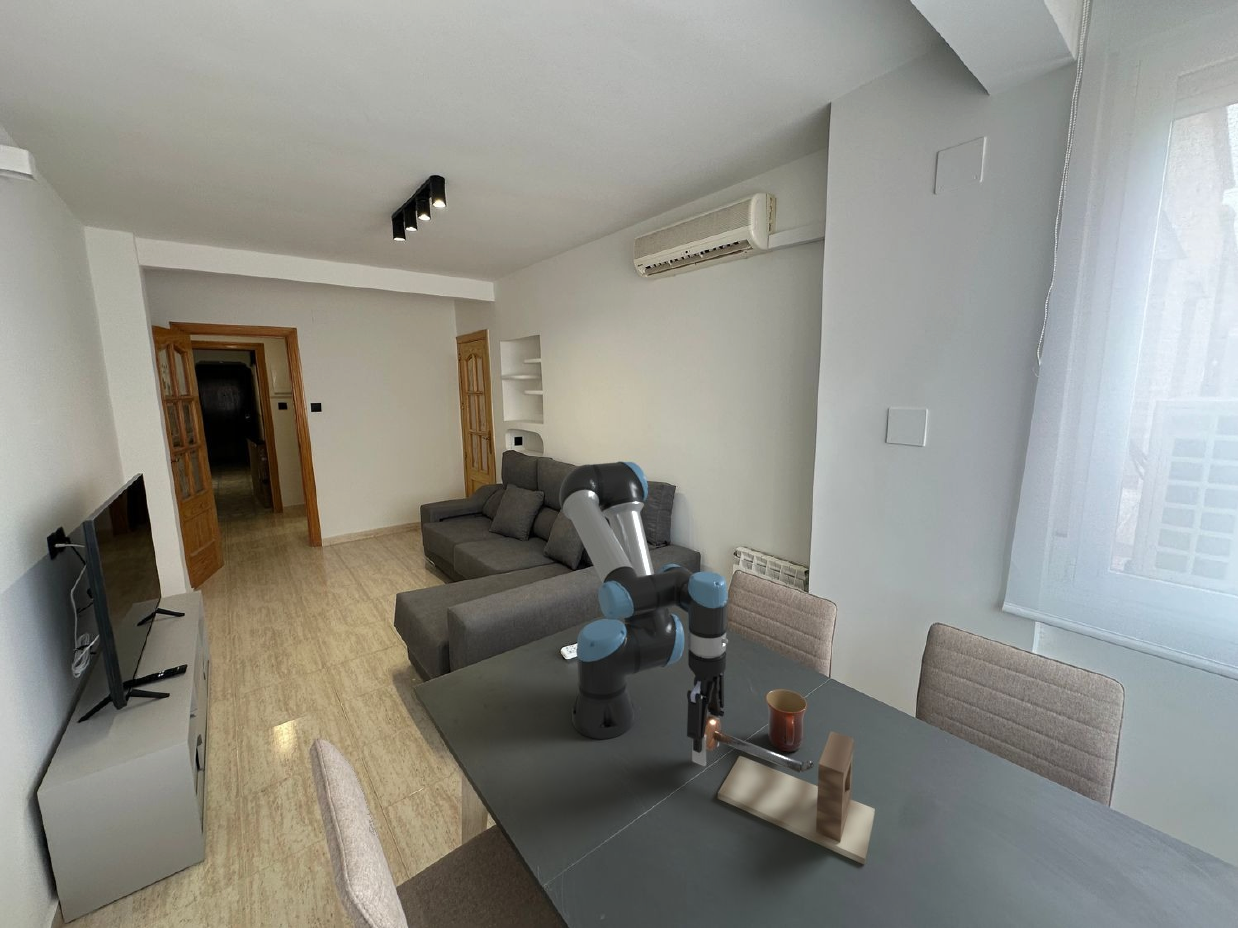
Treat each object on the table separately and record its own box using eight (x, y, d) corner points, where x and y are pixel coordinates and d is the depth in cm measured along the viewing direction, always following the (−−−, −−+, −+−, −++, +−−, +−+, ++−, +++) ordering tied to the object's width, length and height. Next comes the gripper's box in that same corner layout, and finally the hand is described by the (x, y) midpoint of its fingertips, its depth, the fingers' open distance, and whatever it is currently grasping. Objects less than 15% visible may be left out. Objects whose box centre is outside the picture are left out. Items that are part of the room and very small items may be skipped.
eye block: (815, 831, 89) (818, 763, 87) (828, 794, 98) (830, 731, 96) (840, 842, 87) (843, 772, 85) (850, 803, 95) (853, 738, 93)
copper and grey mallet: (688, 748, 105) (688, 721, 104) (700, 732, 109) (700, 706, 109) (808, 797, 91) (809, 767, 91) (816, 776, 96) (817, 748, 95)
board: (717, 798, 99) (717, 792, 98) (739, 760, 108) (739, 755, 108) (864, 864, 84) (864, 858, 84) (874, 814, 94) (874, 808, 94)
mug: (763, 727, 119) (764, 687, 117) (802, 732, 117) (803, 691, 116) (767, 764, 107) (768, 719, 106) (811, 769, 105) (813, 724, 104)
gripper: (704, 677, 93) (703, 790, 96) (741, 635, 108) (739, 733, 112) (668, 665, 97) (668, 774, 100) (708, 626, 112) (707, 721, 116)
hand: (705, 752), depth 106 cm, fingers closed on copper and grey mallet, 6 cm apart
